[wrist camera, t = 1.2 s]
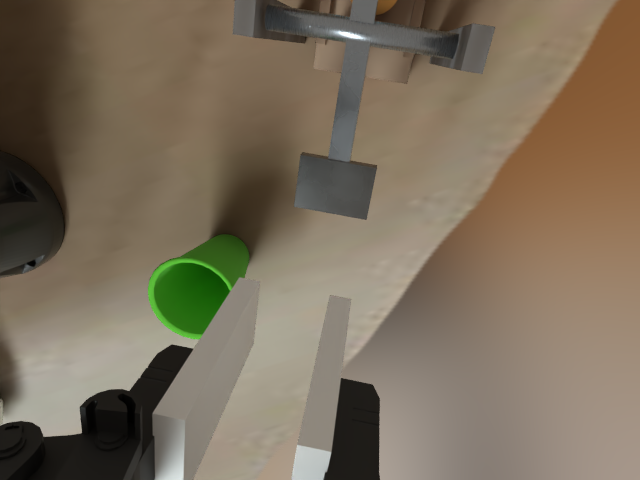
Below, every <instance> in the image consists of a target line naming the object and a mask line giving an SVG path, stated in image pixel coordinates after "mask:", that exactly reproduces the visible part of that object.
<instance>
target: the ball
mask: <svg viewBox="0 0 640 480" xmlns="http://www.w3.org/2000/svg"><path fill="white" fill-rule="evenodd" d="M352 1H353V0H351V2H352ZM396 1H397V0H378V5H377V10H376V15H380V14H383V13H385V12H387V11H388V10H389V9H391V8H392V7H393V6H394V4H395V3H396Z"/></svg>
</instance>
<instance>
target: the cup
mask: <svg viewBox="0 0 640 480" xmlns="http://www.w3.org/2000/svg"><path fill="white" fill-rule="evenodd" d="M248 263H249V253H248V249H247V247H246V245H245V244H244V243H243V242H242V241H241V240H240V239H239V238H237V237H235V236H232V235H228V234H221V235H217V236H215V237H213V238H212V239H210V240H208V241H206V242H205V243H203V244H201V245H200V246H198V247H196V248H194V249H193V250H191V251H189V252H188V253H186V254H184V255H182V256H181V257H178V258H173V259H170V260H168V261H166V262H164V263H162V264H161V265H160V266H159V267H158V268H157V269H156V270H155V271H154V272H153V274H152V276H151V278H150V281H149V286H148V295H149V301H150V304H151V307H152V310H153V311H154V313H155V314H156V316H157V318H158V319H159V320H160V321H161V322H162V323H163V324H164V325H165V326H166V327H168V328H169V329H170V330H172V331H173V332H175V333H177V334H179V335H181V336H183V337H187V338H191V339H200V338H201V337H202V335H203V333H204V332H205V330H206V329H207V327H208V326H209V324H210V323H211V321H212V319H213V318H214V316H215V315H216V313H217V312H218V310H219V308H220V307H221V305H222V304H223V302H224V301H225V299H226V297H227V296H228V294H229V293H230V291H231V290H232V288H233V287H234V285H235V283H236V282H237V280H238V279H239V277H240V278H244V277H245V274H246V270H247V266H248Z"/></svg>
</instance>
